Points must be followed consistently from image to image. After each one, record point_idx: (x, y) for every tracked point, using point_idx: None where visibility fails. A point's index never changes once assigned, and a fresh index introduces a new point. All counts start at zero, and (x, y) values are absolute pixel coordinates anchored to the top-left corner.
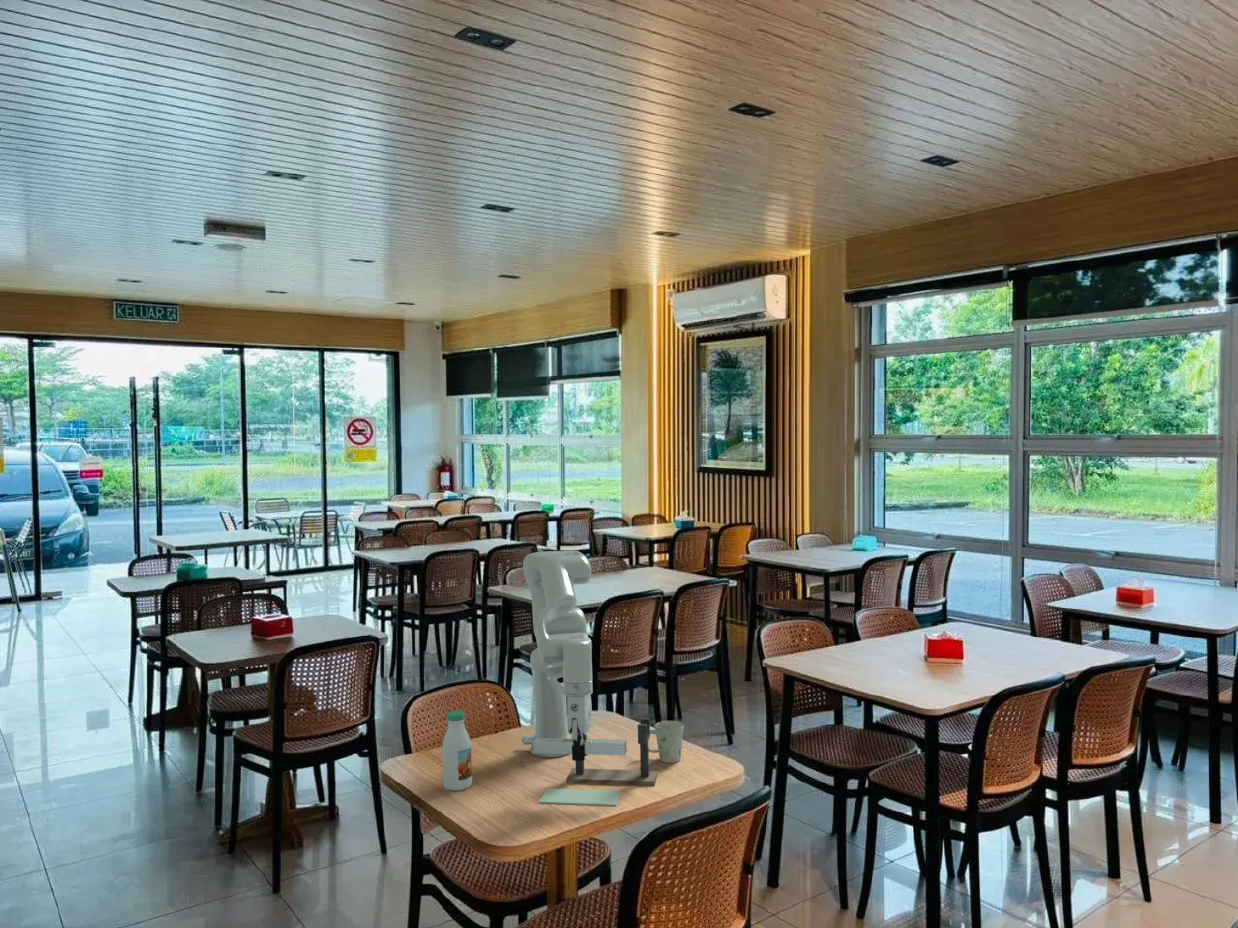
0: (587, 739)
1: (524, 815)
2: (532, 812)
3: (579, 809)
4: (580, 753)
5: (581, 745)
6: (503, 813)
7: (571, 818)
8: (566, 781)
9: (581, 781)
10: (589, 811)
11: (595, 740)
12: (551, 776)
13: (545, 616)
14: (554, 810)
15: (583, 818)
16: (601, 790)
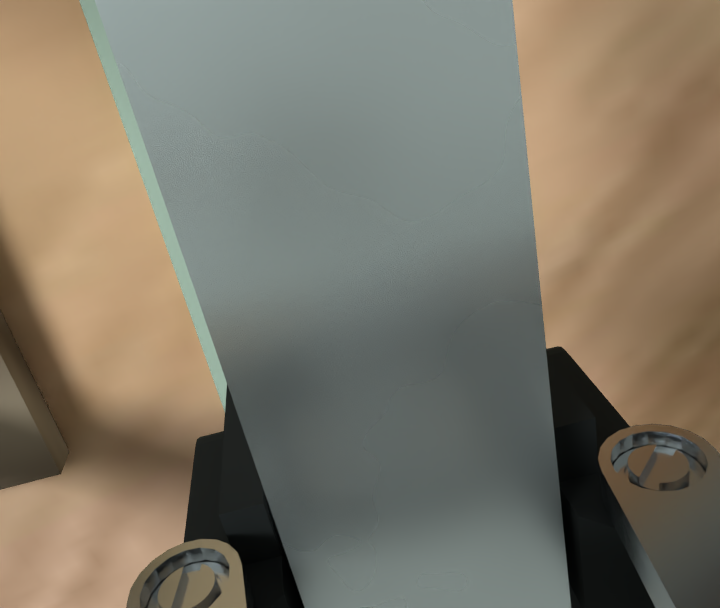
0: (305, 498)
1: (691, 419)
2: (641, 400)
3: (540, 122)
4: (582, 375)
5: (681, 440)
6: None
7: (713, 108)
8: (66, 457)
9: (13, 354)
10: (564, 21)
11: (318, 289)
12: (7, 590)
13: None
14: (590, 290)
15: (706, 11)
16: (117, 100)
